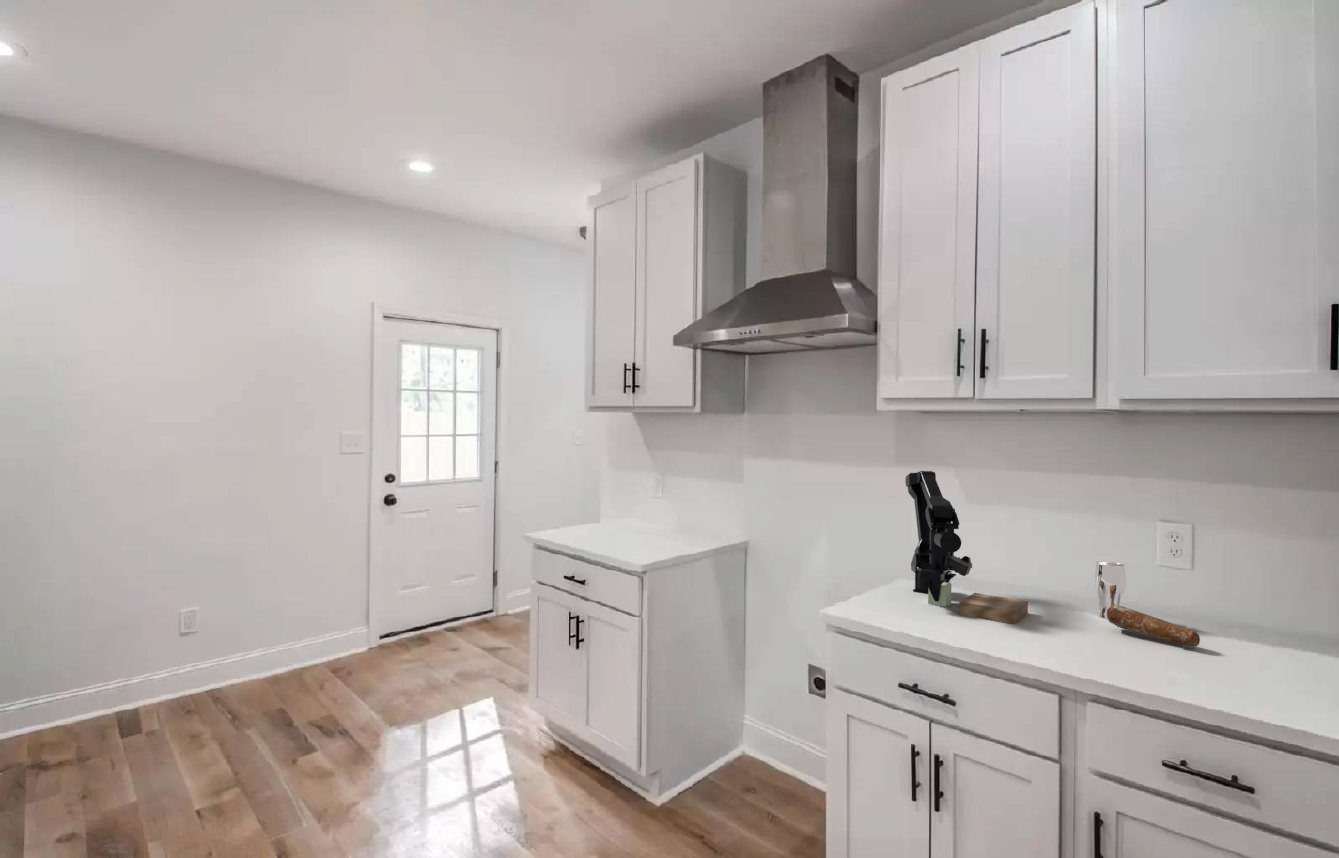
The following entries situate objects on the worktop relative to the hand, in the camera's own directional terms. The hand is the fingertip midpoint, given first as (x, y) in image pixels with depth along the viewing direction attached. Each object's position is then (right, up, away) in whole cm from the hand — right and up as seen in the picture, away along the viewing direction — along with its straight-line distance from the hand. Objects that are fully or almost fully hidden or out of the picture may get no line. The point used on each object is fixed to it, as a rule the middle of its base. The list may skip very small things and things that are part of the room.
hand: (939, 599), depth 192 cm
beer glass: (+41, -2, -14) cm, 43 cm away
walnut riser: (+11, -2, -11) cm, 15 cm away
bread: (+37, -3, -30) cm, 48 cm away
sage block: (0, -1, 0) cm, 1 cm away
